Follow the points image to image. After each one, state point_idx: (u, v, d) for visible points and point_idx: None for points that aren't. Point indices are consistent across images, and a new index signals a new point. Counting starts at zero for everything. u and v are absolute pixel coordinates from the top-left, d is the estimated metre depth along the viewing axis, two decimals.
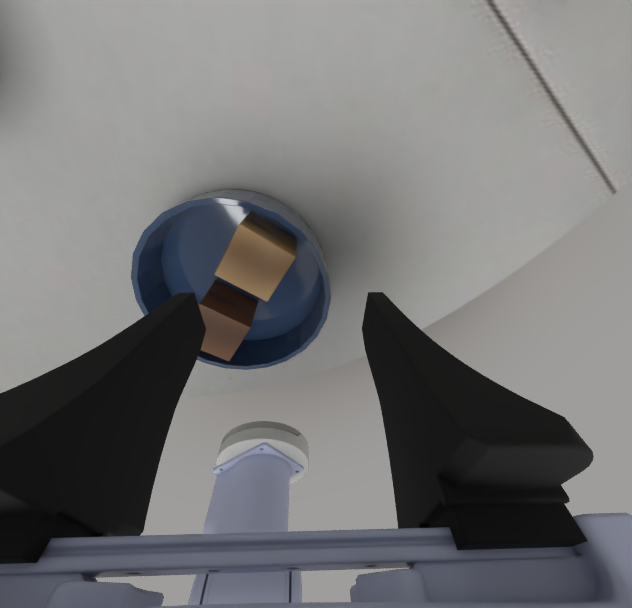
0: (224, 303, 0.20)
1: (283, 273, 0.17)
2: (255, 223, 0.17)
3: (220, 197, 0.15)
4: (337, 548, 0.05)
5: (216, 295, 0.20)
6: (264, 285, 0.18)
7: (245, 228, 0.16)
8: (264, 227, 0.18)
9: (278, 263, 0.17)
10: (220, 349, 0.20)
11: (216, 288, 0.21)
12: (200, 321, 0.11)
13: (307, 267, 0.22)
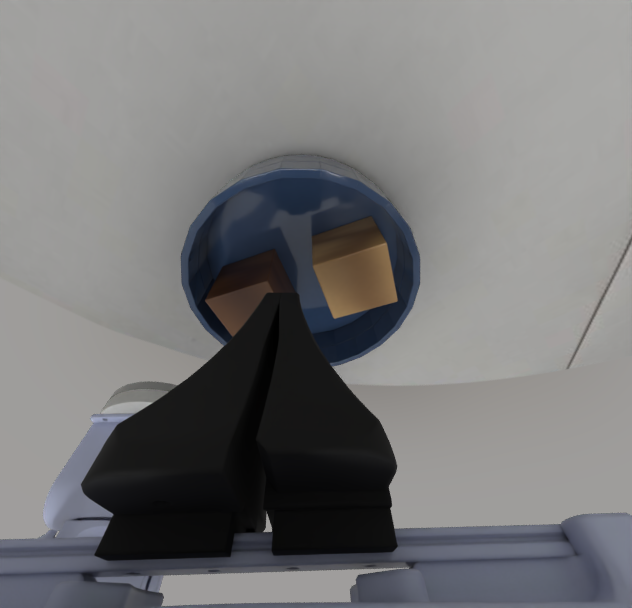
0: (280, 288, 0.16)
1: (374, 306, 0.16)
2: None
3: (390, 203, 0.13)
4: None
5: (276, 273, 0.16)
6: (348, 305, 0.15)
7: (387, 250, 0.13)
8: None
9: (379, 296, 0.15)
10: None
11: (275, 262, 0.17)
12: None
13: None
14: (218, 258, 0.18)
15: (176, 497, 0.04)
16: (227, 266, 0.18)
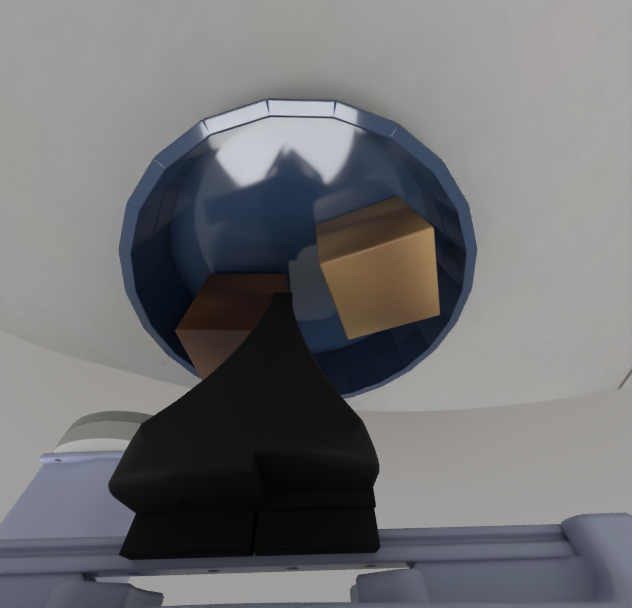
0: None
1: (405, 322, 0.11)
2: None
3: (443, 164, 0.08)
4: None
5: None
6: (369, 320, 0.11)
7: (433, 239, 0.09)
8: None
9: (414, 308, 0.11)
10: None
11: None
12: None
13: None
14: (187, 256, 0.13)
15: (201, 496, 0.04)
16: (216, 277, 0.13)
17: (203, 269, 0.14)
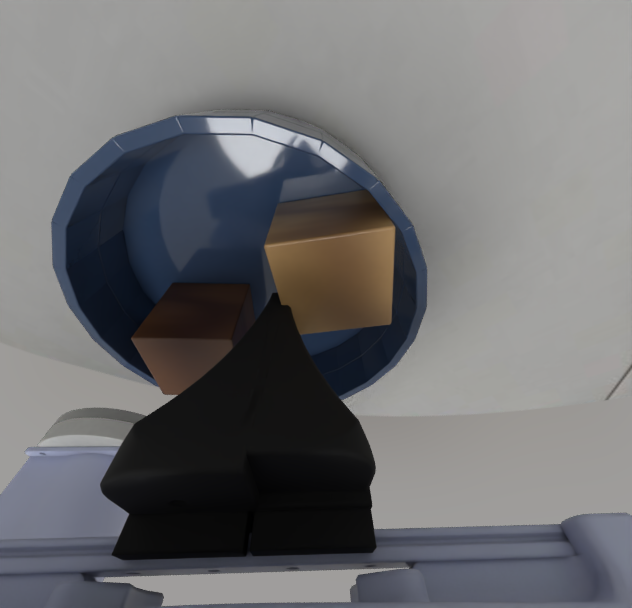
0: None
1: (354, 327, 0.10)
2: None
3: (379, 182, 0.07)
4: (337, 548, 0.05)
5: (243, 321, 0.12)
6: (315, 318, 0.10)
7: (392, 240, 0.08)
8: None
9: (364, 313, 0.10)
10: (174, 382, 0.12)
11: (246, 304, 0.13)
12: None
13: None
14: (145, 264, 0.13)
15: (194, 497, 0.04)
16: (179, 286, 0.13)
17: (162, 277, 0.13)
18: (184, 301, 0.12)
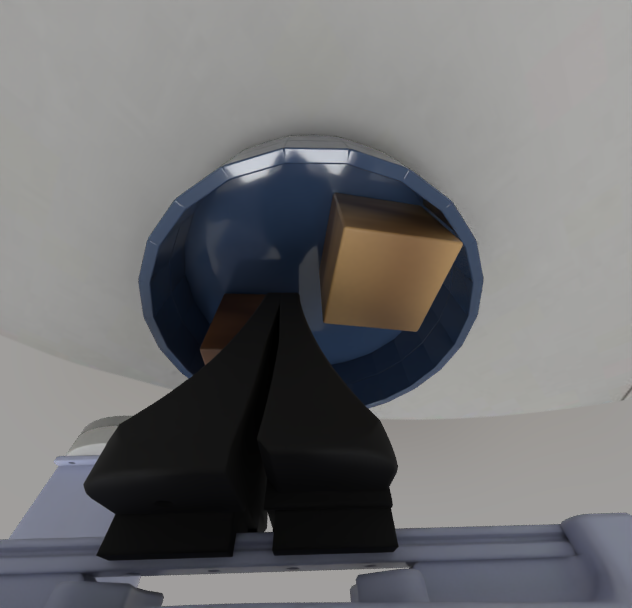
0: None
1: (385, 327, 0.11)
2: None
3: (452, 204, 0.08)
4: None
5: None
6: (355, 311, 0.10)
7: (456, 254, 0.09)
8: None
9: (401, 316, 0.10)
10: None
11: None
12: None
13: None
14: (200, 276, 0.13)
15: (178, 497, 0.04)
16: (232, 297, 0.14)
17: (215, 288, 0.14)
18: (240, 312, 0.13)
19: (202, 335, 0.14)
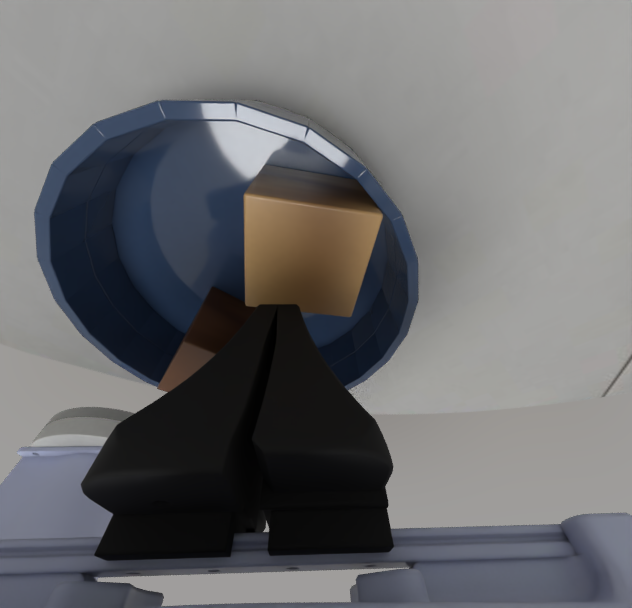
0: None
1: (314, 311, 0.10)
2: None
3: (367, 170, 0.07)
4: None
5: None
6: (277, 292, 0.09)
7: (377, 229, 0.08)
8: None
9: (329, 299, 0.09)
10: None
11: None
12: None
13: None
14: (135, 259, 0.13)
15: (176, 497, 0.04)
16: (219, 294, 0.14)
17: (153, 272, 0.13)
18: (227, 315, 0.13)
19: (142, 322, 0.14)
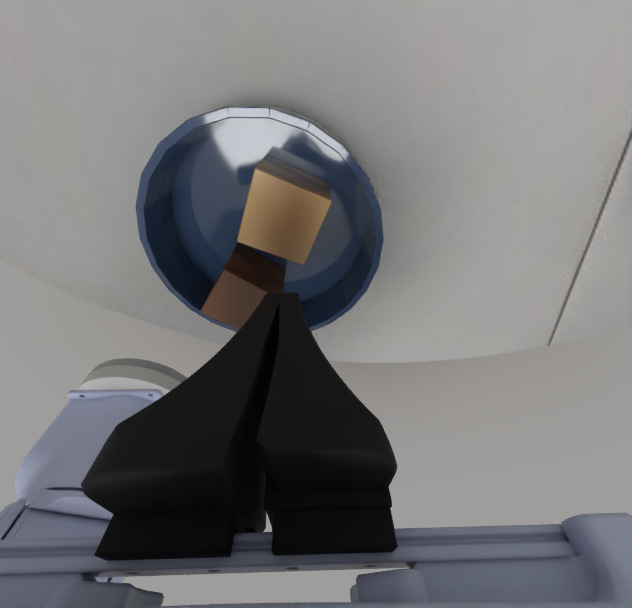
0: None
1: (281, 255, 0.15)
2: None
3: (345, 148, 0.12)
4: (337, 548, 0.05)
5: None
6: (260, 236, 0.14)
7: (327, 208, 0.13)
8: None
9: (292, 249, 0.15)
10: (218, 308, 0.17)
11: None
12: None
13: (338, 261, 0.20)
14: (184, 220, 0.18)
15: (176, 497, 0.04)
16: (243, 247, 0.18)
17: (196, 230, 0.18)
18: (250, 260, 0.18)
19: (186, 268, 0.19)
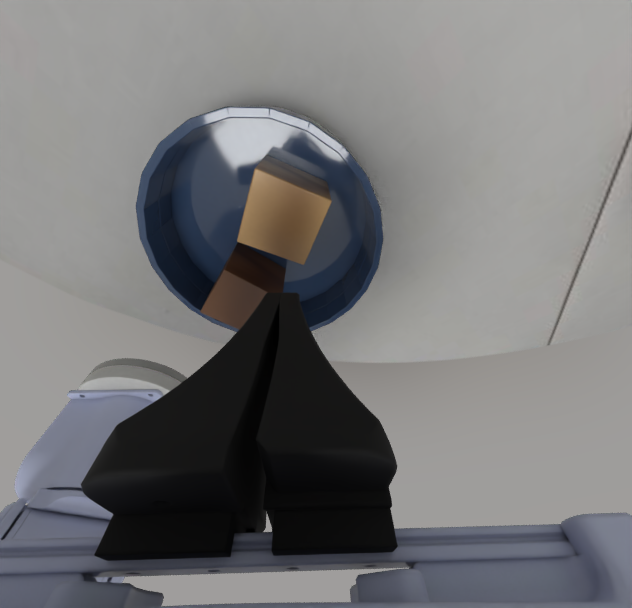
0: None
1: (281, 255, 0.15)
2: None
3: (344, 148, 0.12)
4: (337, 548, 0.05)
5: None
6: (260, 236, 0.14)
7: (327, 208, 0.13)
8: None
9: (292, 248, 0.15)
10: (218, 307, 0.17)
11: None
12: None
13: (338, 261, 0.20)
14: (184, 219, 0.18)
15: (176, 497, 0.04)
16: (243, 246, 0.18)
17: (196, 230, 0.18)
18: (250, 260, 0.18)
19: (186, 268, 0.19)
